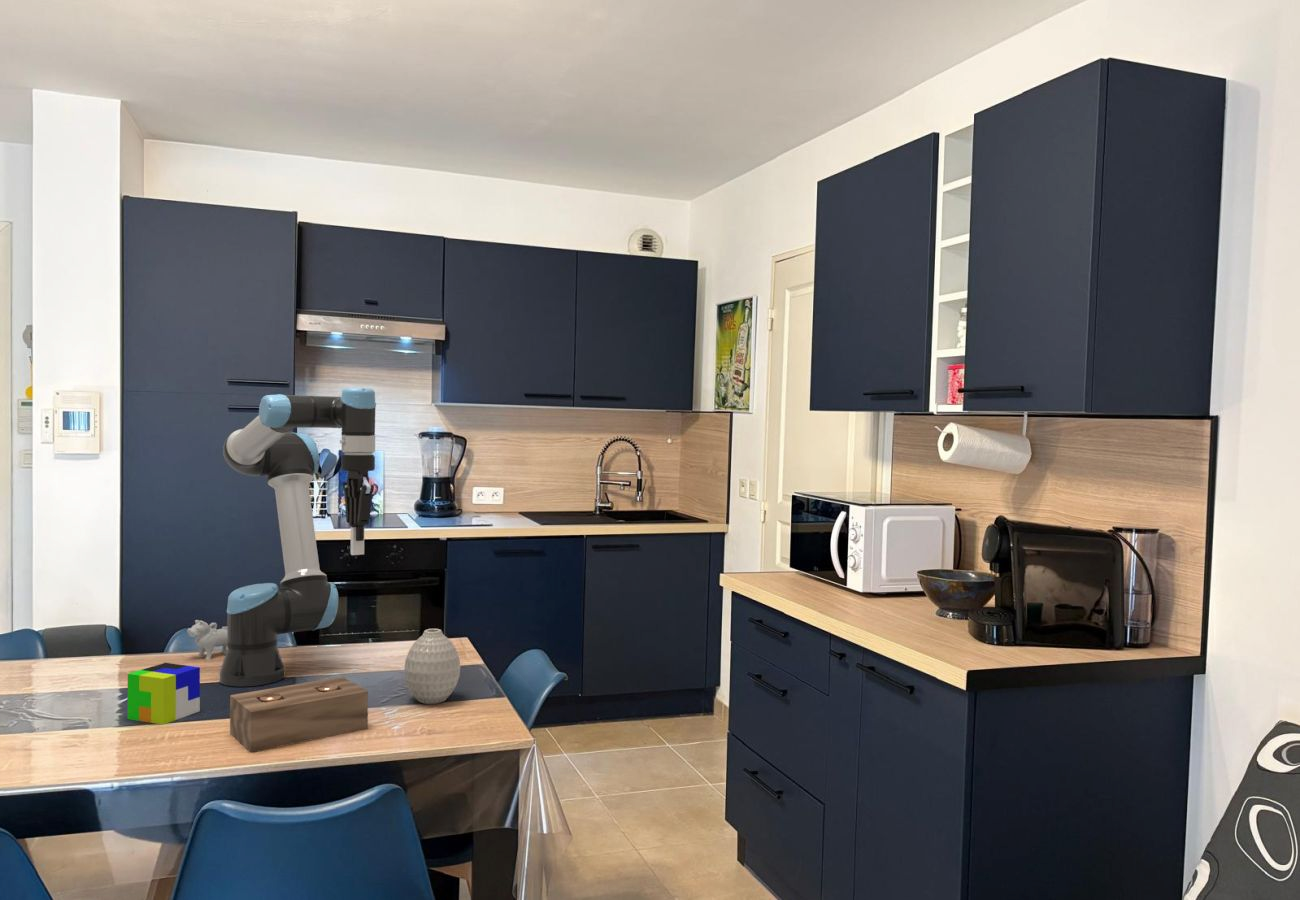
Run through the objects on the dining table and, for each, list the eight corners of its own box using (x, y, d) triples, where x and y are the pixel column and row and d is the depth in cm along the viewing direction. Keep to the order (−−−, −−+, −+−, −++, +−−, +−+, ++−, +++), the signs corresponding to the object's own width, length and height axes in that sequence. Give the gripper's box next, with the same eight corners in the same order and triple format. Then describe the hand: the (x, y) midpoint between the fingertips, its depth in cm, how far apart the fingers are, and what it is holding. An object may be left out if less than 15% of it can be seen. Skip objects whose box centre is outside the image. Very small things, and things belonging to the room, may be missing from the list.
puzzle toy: (199, 711, 208) (199, 667, 207) (163, 725, 198) (163, 678, 198) (165, 706, 211) (165, 662, 211) (127, 719, 201) (127, 673, 201)
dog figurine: (183, 659, 251) (182, 620, 250) (227, 650, 261) (227, 613, 261) (193, 663, 248) (193, 623, 247) (238, 653, 258) (238, 615, 258)
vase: (470, 697, 222) (471, 627, 221) (437, 711, 210) (437, 638, 209) (427, 689, 227) (428, 622, 226) (392, 703, 215) (393, 632, 215)
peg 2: (315, 720, 200) (315, 686, 200) (333, 717, 202) (333, 683, 202) (321, 725, 197) (322, 690, 196) (340, 722, 199) (340, 687, 199)
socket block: (230, 733, 193) (230, 695, 193) (342, 711, 209) (342, 676, 209) (250, 752, 183) (250, 712, 182) (367, 728, 198) (367, 691, 198)
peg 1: (257, 731, 192) (257, 696, 192) (277, 728, 195) (277, 692, 194) (263, 737, 189) (263, 700, 189) (283, 733, 192) (283, 697, 191)
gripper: (331, 453, 219) (331, 552, 220) (353, 455, 209) (352, 559, 210) (362, 452, 224) (361, 549, 224) (385, 454, 214) (384, 556, 214)
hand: (357, 554), depth 217 cm, fingers closed
